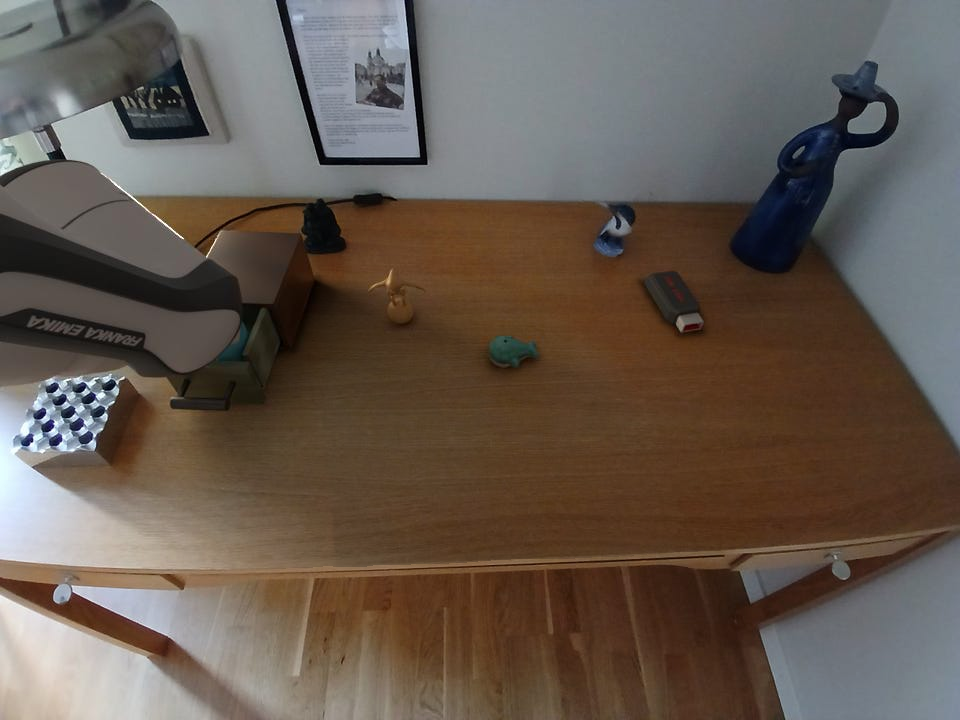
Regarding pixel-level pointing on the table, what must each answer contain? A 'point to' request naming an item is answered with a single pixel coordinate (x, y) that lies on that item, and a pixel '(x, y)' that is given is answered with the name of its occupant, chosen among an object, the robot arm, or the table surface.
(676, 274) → the usb drive
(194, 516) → the table surface
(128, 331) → the robot arm
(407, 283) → the figurine
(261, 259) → the cabinet
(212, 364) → the drawer
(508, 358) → the whale figurine
